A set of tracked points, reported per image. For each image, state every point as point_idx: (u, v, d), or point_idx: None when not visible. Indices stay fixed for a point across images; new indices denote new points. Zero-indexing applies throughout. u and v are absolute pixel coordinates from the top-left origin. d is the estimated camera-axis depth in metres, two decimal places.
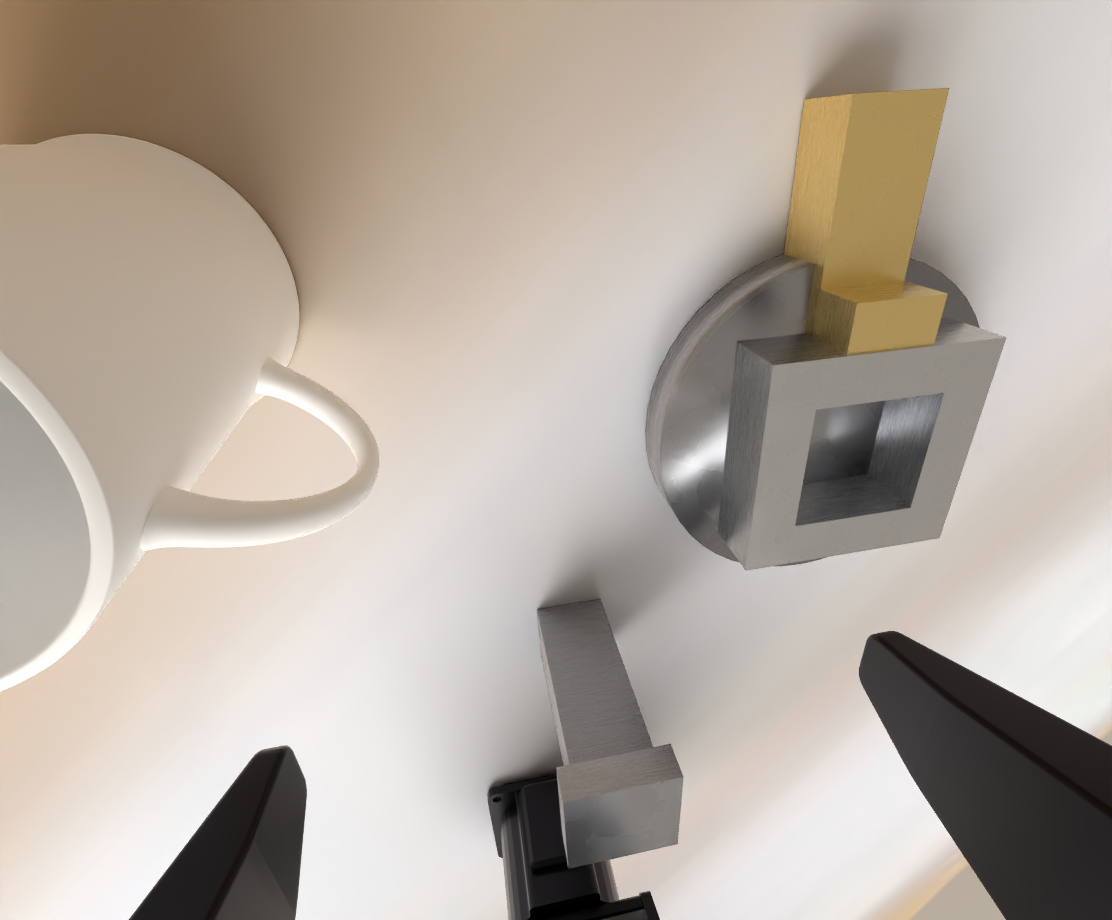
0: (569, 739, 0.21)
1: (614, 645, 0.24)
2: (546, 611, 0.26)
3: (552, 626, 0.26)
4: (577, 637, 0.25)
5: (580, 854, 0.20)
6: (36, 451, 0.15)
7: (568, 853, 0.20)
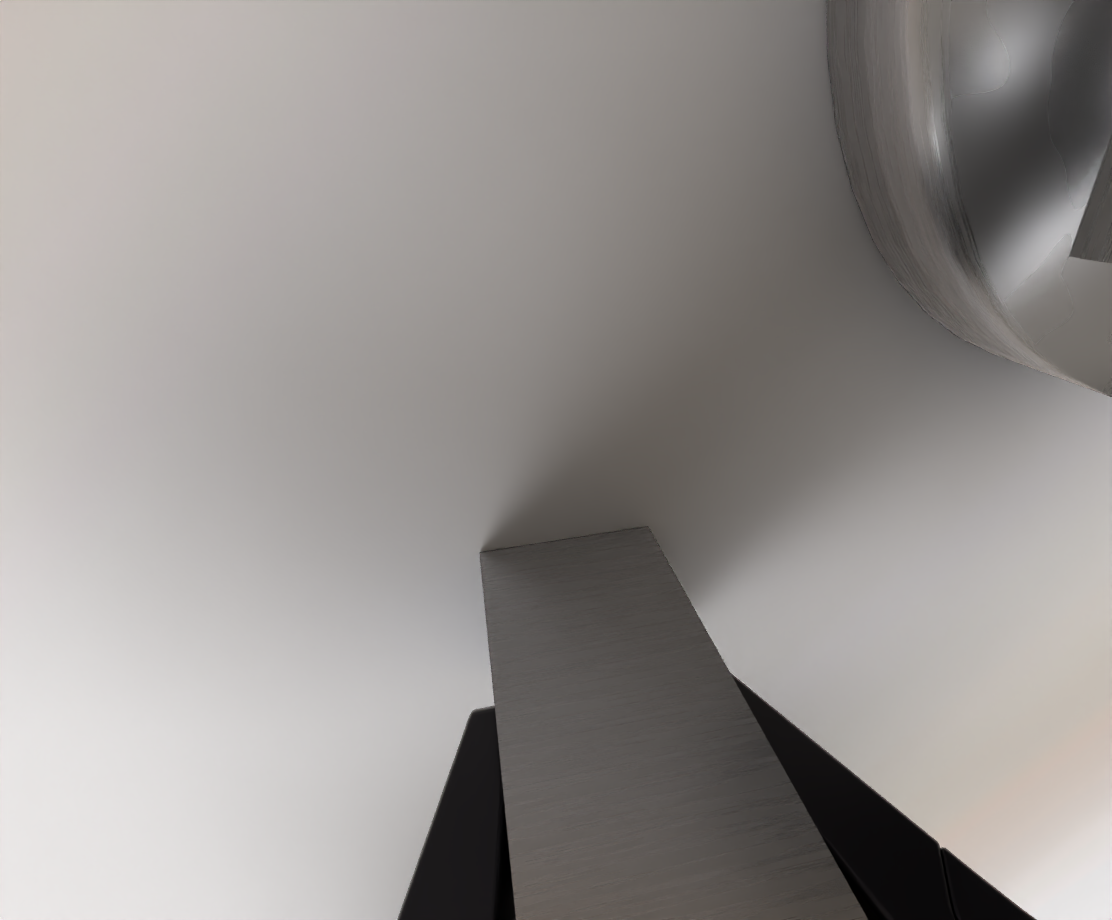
0: None
1: (708, 647, 0.08)
2: (504, 556, 0.10)
3: (518, 593, 0.09)
4: (590, 624, 0.08)
5: None
6: None
7: None
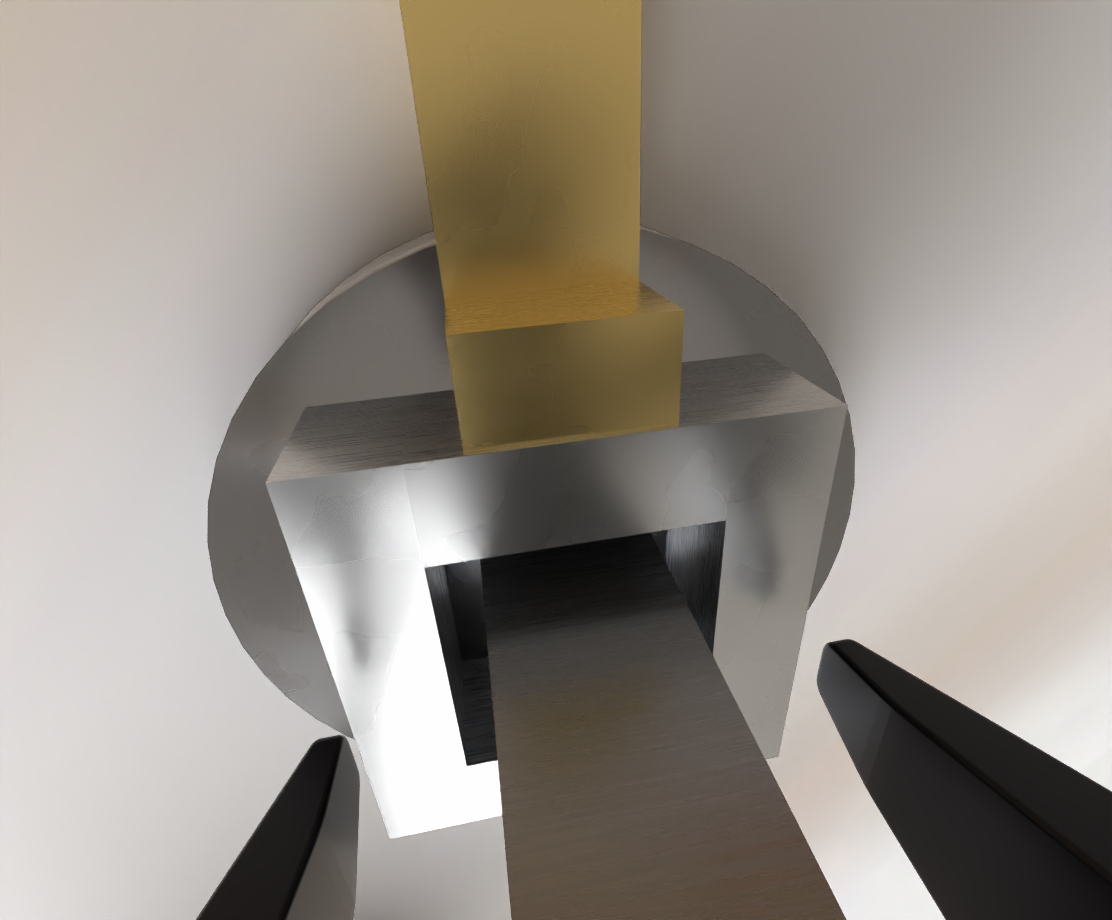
0: None
1: (677, 598, 0.09)
2: None
3: None
4: (574, 578, 0.09)
5: None
6: None
7: None
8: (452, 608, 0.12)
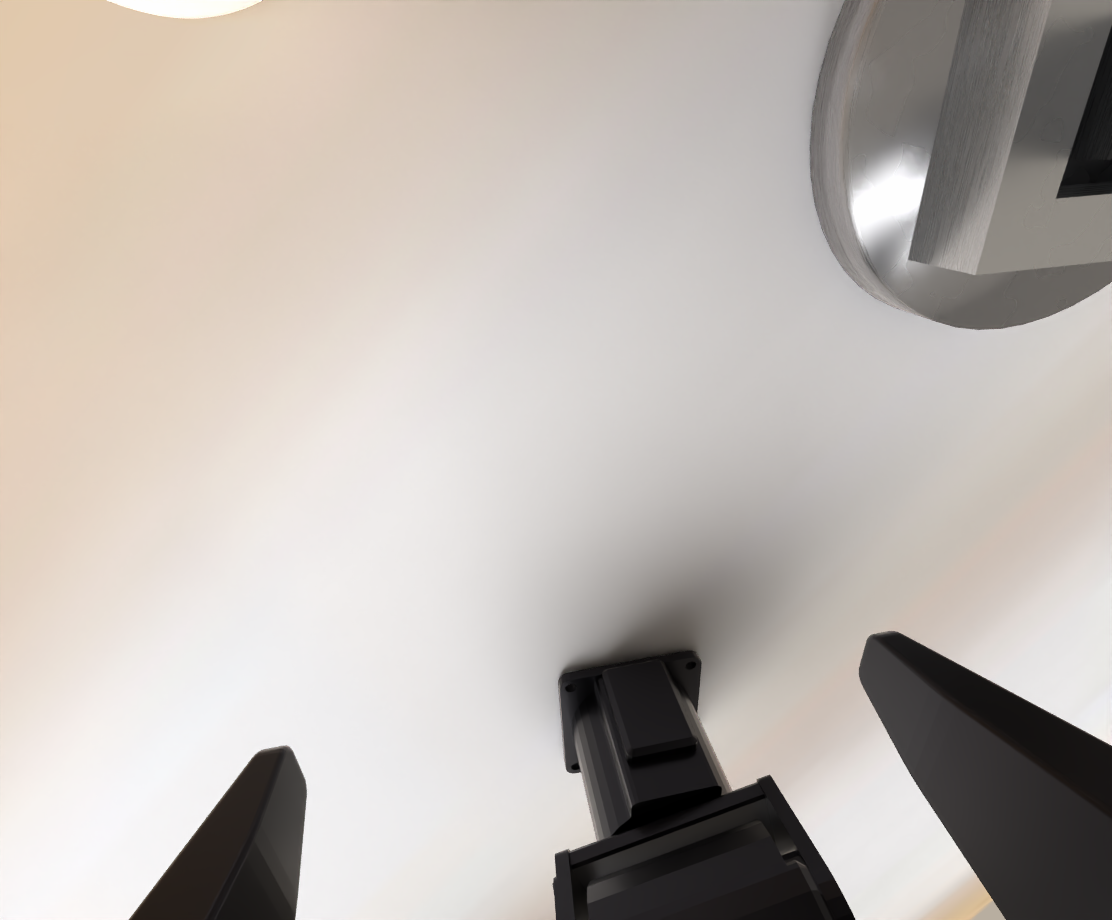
0: None
1: None
2: None
3: None
4: None
5: None
6: None
7: None
8: None
